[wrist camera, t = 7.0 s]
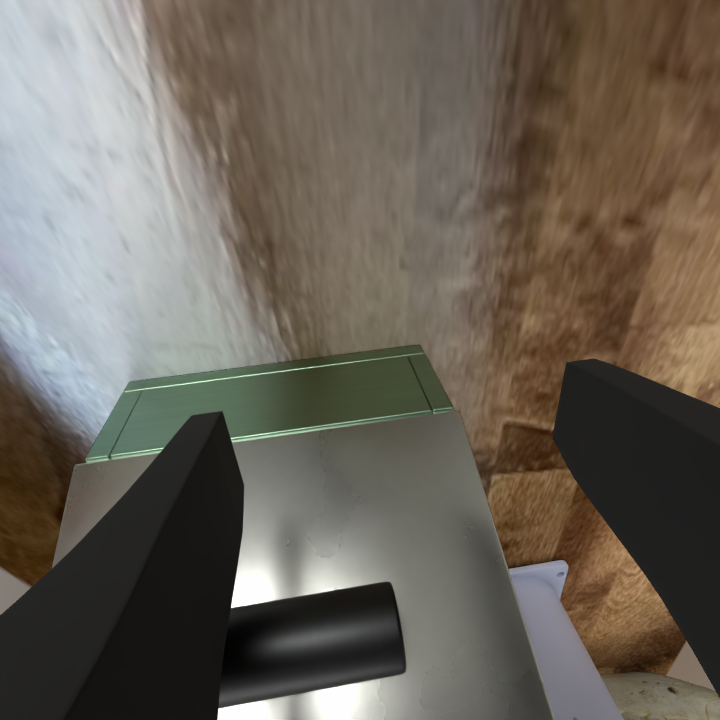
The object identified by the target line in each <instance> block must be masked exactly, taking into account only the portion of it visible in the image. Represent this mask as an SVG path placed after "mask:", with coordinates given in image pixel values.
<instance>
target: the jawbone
mask: <svg viewBox="0 0 720 720" xmlns="http://www.w3.org/2000/svg"><path fill="white" fill-rule="evenodd" d="M600 676H601V678H602V680H603V682H604V683H605V685H606V687H607V689H608V691H609V693H610V695H611V696H612V698H613V700H614V702H615V704H616V706H617V708H618V709H619V711H620V713H621V715H622V717H623V719H624V720H720V698H719V696H718V694H717V692H715V691H713V690H711V689H708V688H706V687H703V686H699V685H695V684H692V683H689V682H685V681H682V680H679V679H675V678H672V677H668V676H665V675H661V674H656V673H645V672H627V673H621V674H600Z"/></svg>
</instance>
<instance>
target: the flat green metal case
mask: <svg viewBox="0 0 720 720" xmlns="http://www.w3.org/2000/svg"><path fill="white" fill-rule="evenodd" d="M219 411H223V414H224V417H225V421H226V424H227V428H228V431H229V435H230V438H231V441H232V443H233V442H240V441H247V440H254V439H261V438H268V437H275V436H282V435H290V434H297V433H304V432H311V431H318V430H325V429H332V428H339V427H346V426H353V425H360V424H367V423H375V422H382V421H389V420H396V419H403V418H410V417H417V416H424V415H431V414H438V413H445V412H452V411H454V408H453V406H452V404H451V402H450V400H449V398H448V396H447V394H446V392H445V391H444V389H443V387H442V385H441V383H440V381H439V379H438V377H437V375H436V374H435V372H434V370H433V368H432V366H431V364H430V362H429V360H428V358H427V357H426V355H425V353H424V351H423V349H422V347H421V345H413V346H405V347H397V348H389V349H382V350H374V351H366V352H358V353H350V354H343V355H335V356H327V357H319V358H311V359H304V360H296V361H288V362H280V363H272V364H265V365H257V366H249V367H241V368H233V369H226V370H218V371H210V372H202V373H194V374H187V375H179V376H171V377H163V378H155V379H148V380H140V381H132V382H129V383H128V385H127V386H126V388H125V390H124V392H123V393H122V395H121V397H120V398H119V400H118V402H117V404H116V405H115V407H114V409H113V411H112V412H111V414H110V416H109V417H108V419H107V421H106V423H105V424H104V426H103V428H102V430H101V431H100V433H99V435H98V437H97V438H96V440H95V442H94V444H93V445H92V447H91V449H90V451H89V452H88V454H87V456H86V458H85V461H86V463H91V462H98V461H105V460H112V459H119V458H127V457H134V456H141V455H148V454H155V453H160V452H161V451H162V450H163V448H164V447H165V446H166V445H167V444H168V442H169V441H170V440H171V439H172V438H173V436H174V435H175V434H176V433H177V432H178V430H179V429H180V428H181V427H182V426H183V424H184V423H185V422H186V421H187V420H188V419H189V418H190V416H191V415H197V414H204V413H211V412H219Z"/></svg>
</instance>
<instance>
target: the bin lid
mask: <svg viewBox="0 0 720 720" xmlns="http://www.w3.org/2000/svg"><path fill="white" fill-rule="evenodd" d="M232 445H233V448H234V452H235V455H236V459H237V462H238V465H239V469H240V472H241V476H242V479H243V483H244V514H243V533H242V540H241V547H240V553H239V560H238V566H237V573H236V579H235V585H234V592H233V598H232V604H231V610H230V616H229V623H228V629H227V635H226V641H225V648H224V655H223V664H222V672H221V682H220V696H219V711H218V720H555V717H554V714H553V711H552V708H551V704H550V701H549V698H548V695H547V691H546V688H545V685H544V682H543V678H542V675H541V672H540V669H539V666H538V662H537V659H536V656H535V653H534V649H533V646H532V643H531V640H530V636H529V633H528V630H527V627H526V623H525V620H524V617H523V614H522V611H521V607H520V604H519V601H518V598H517V594H516V591H515V588H514V585H513V581H512V578H511V575H510V572H509V569H508V565H507V562H506V559H505V556H504V552H503V549H502V546H501V543H500V539H499V536H498V533H497V530H496V527H495V523H494V520H493V517H492V514H491V510H490V507H489V504H488V501H487V497H486V494H485V491H484V488H483V484H482V481H481V478H480V475H479V472H478V468H477V465H476V462H475V459H474V455H473V452H472V449H471V446H470V442H469V439H468V436H467V433H466V430H465V426H464V423H463V420H462V417H461V413H460V412H459V411H452V412H445V413H438V414H431V415H424V416H417V417H410V418H403V419H396V420H389V421H382V422H375V423H367V424H360V425H353V426H346V427H339V428H332V429H325V430H318V431H311V432H304V433H297V434H290V435H282V436H275V437H268V438H261V439H254V440H247V441H240V442H233V443H232ZM158 454H159V453H155V454H148V455H141V456H134V457H127V458H119V459H112V460H105V461H98V462H91V463H84V464H77V465H74V467H73V471H72V476H71V480H70V485H69V490H68V494H67V499H66V504H65V509H64V513H63V518H62V523H61V527H60V532H59V537H58V541H57V546H56V551H55V556H54V560H53V565H52V568H53V567H54V566H55V565H56V564H57V563H58V562H59V561H60V560H61V559H62V558H64V557H65V556H66V555H67V554H68V553H69V552H70V551H71V550H72V549H73V548H74V547H75V546H76V545H77V544H78V543H79V542H80V541H81V540H82V539H83V538H84V537H85V535H86V534H87V533H88V532H89V531H90V530H91V529H92V528H93V527H94V526H95V525H96V524H97V523H98V522H99V521H100V520H101V518H102V517H103V516H104V515H105V514H106V513H107V512H108V511H109V510H110V509H111V508H112V507H113V506H114V505H115V504H116V503H117V501H118V500H119V499H120V498H121V497H122V496H123V495H124V494H125V493H126V492H127V491H128V490H129V488H130V487H131V486H132V485H133V484H134V483H135V481H136V480H137V479H138V478H139V477H140V476H141V474H142V473H143V472H144V471H145V470H146V469H147V468H148V466H149V465H150V464H151V463H152V462H153V460H154V459H155V458H156V457H157V456H158Z"/></svg>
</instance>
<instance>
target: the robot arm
mask: <svg viewBox="0 0 720 720" xmlns="http://www.w3.org/2000/svg"><path fill="white" fill-rule="evenodd" d="M552 438H553V440H554V442H555V444H556V446H557V448H558V449H559V451H560V453H561V455H562V457H563V459H564V461H565V463H566V464H567V466H568V468H569V470H570V471H571V473H572V475H573V477H574V478H575V480H576V481H577V483H578V484H579V486H580V487H581V488H582V490H583V491H584V493H585V494H586V495H587V497H588V498H589V499H590V501H591V502H592V504H593V505H594V506H595V508H596V509H597V510H598V512H599V513H600V514H601V516H602V517H603V519H604V520H605V521H606V523H607V524H608V525H609V527H610V528H611V529H612V531H613V532H614V533H615V535H616V536H617V537H618V539H619V540H620V541H621V543H622V544H623V545H624V547H625V548H626V550H627V551H628V552H629V554H630V555H631V556H632V558H633V559H634V560H635V562H636V563H637V564H638V566H639V567H640V568H641V570H642V571H643V572H644V574H645V575H646V577H647V578H648V580H649V581H650V583H651V584H652V586H653V587H654V588H655V590H656V591H657V593H658V594H659V596H660V597H661V599H662V601H663V602H664V604H665V606H666V607H667V609H668V610H669V612H670V614H671V615H672V617H673V619H674V620H675V622H676V624H677V625H678V627H679V629H680V630H681V632H682V634H683V635H684V637H685V639H686V640H687V642H688V643H689V645H690V647H691V648H692V650H693V652H694V654H695V655H696V657H697V658H698V661H699V662H700V664H701V666H702V667H703V669H704V671H705V673H706V675H707V676H708V678H709V680H710V682H711V683H712V685H713V687H714V689H715V690H716V692H717V694H718V696H719V698H720V408H718V407H715V406H713V405H710V404H708V403H705V402H703V401H700V400H698V399H696V398H693V397H691V396H688V395H686V394H683V393H681V392H679V391H676V390H674V389H671V388H669V387H667V386H664V385H662V384H659V383H657V382H655V381H652V380H650V379H647V378H645V377H642V376H640V375H638V374H635V373H633V372H630V371H628V370H625V369H623V368H620V367H617V366H615V365H612V364H609V363H606V362H603V361H600V360H597V359H588V360H581V361H573V362H566V367H565V372H564V378H563V383H562V389H561V394H560V400H559V405H558V410H557V416H556V421H555V427H554V432H553V437H552ZM243 514H244V483H243V479H242V476H241V472H240V469H239V465H238V462H237V459H236V455H235V452H234V448H233V445H232V441H231V438H230V435H229V431H228V428H227V424H226V421H225V417H224V414H223V411H219V412H211V413H204V414H197V415H191V416H190V418H189V419H188V420H187V421H186V422H185V423H184V424H183V426H182V427H181V428H180V429H179V430H178V432H177V433H176V434H175V435H174V436H173V438H172V439H171V440H170V441H169V442H168V444H167V445H166V446H165V447H164V448H163V450H162V451H161V452H160V453H159V454H158V456H157V457H156V458H155V459H154V460H153V462H152V463H151V464H150V465H149V466H148V468H147V469H146V470H145V471H144V472H143V473H142V474H141V476H140V477H139V478H138V479H137V480H136V481H135V483H134V484H133V485H132V486H131V487H130V488H129V490H128V491H127V492H126V493H125V494H124V495H123V496H122V497H121V498H120V499H119V500H118V501H117V503H116V504H115V505H114V506H113V507H112V508H111V509H110V510H109V511H108V512H107V513H106V514H105V515H104V516H103V517H102V518H101V520H100V521H99V522H98V523H97V524H96V525H95V526H94V527H93V528H92V529H91V530H90V531H89V532H88V533H87V534H86V535H85V537H84V538H83V539H82V540H81V541H80V542H79V543H78V544H77V545H76V546H75V547H74V548H73V549H72V550H71V551H70V552H69V553H68V554H67V555H66V556H65V557H64V558H62V559H61V560H60V561H59V562H58V563H57V564H56V565H55V566H54V567H53V568H52V569H51V570H50V571H49V572H48V573H47V574H46V575H44V576H43V577H42V578H41V579H40V580H39V581H38V582H37V583H36V584H35V585H34V586H33V587H31V588H30V589H29V590H28V591H27V592H26V593H25V594H24V595H23V596H22V597H21V598H19V599H18V600H17V601H16V602H15V603H14V604H13V605H12V606H11V607H9V609H7V610H6V611H5V612H4V613H3V614H1V615H0V720H218V711H219V696H220V682H221V672H222V664H223V655H224V648H225V641H226V635H227V629H228V623H229V616H230V610H231V604H232V598H233V592H234V585H235V579H236V573H237V566H238V560H239V553H240V547H241V540H242V533H243ZM509 572H510V575H511V578H512V581H513V585H514V588H515V591H516V594H517V598H518V601H519V604H520V607H521V611H522V614H523V617H524V620H525V623H526V627H527V630H528V633H529V636H530V640H531V643H532V646H533V649H534V653H535V656H536V659H537V662H538V666H539V669H540V672H541V675H542V678H543V682H544V685H545V688H546V691H547V695H548V698H549V701H550V704H551V708H552V711H553V714H554V717H555V720H624V719H623V717H622V715H621V713H620V711H619V709H618V708H617V706H616V704H615V702H614V700H613V698H612V696H611V695H610V693H609V691H608V689H607V687H606V685H605V683H604V682H603V680H602V678H601V676H600V674H599V672H598V670H597V669H596V667H595V665H594V663H593V661H592V659H591V657H590V656H589V654H588V652H587V650H586V648H585V646H584V644H583V643H582V641H581V639H580V637H579V635H578V633H577V631H576V630H575V628H574V626H573V624H572V622H571V620H570V618H569V616H568V615H567V613H566V611H565V609H564V607H563V605H562V603H561V602H560V598H561V594H562V590H563V586H564V583H565V579H566V575H567V572H568V565H567V563H566V562H565V561H564V560H557V561H552V562H546V563H540V564H534V565H528V566H522V567H517V568H511V569H509Z"/></svg>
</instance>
